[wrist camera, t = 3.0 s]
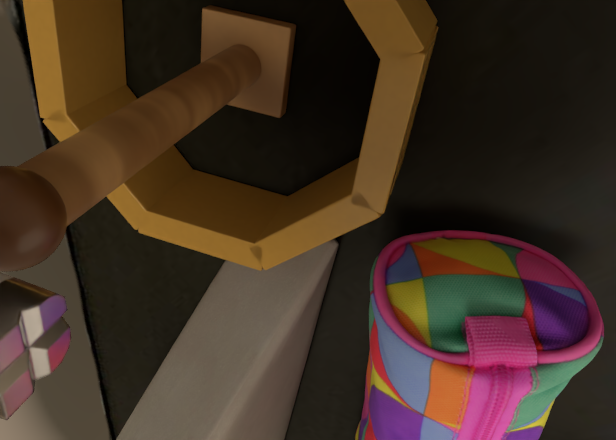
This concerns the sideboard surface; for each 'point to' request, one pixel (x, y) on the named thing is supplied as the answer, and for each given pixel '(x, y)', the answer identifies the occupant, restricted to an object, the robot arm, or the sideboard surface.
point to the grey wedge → (238, 355)
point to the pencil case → (471, 337)
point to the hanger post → (143, 132)
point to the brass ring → (216, 190)
